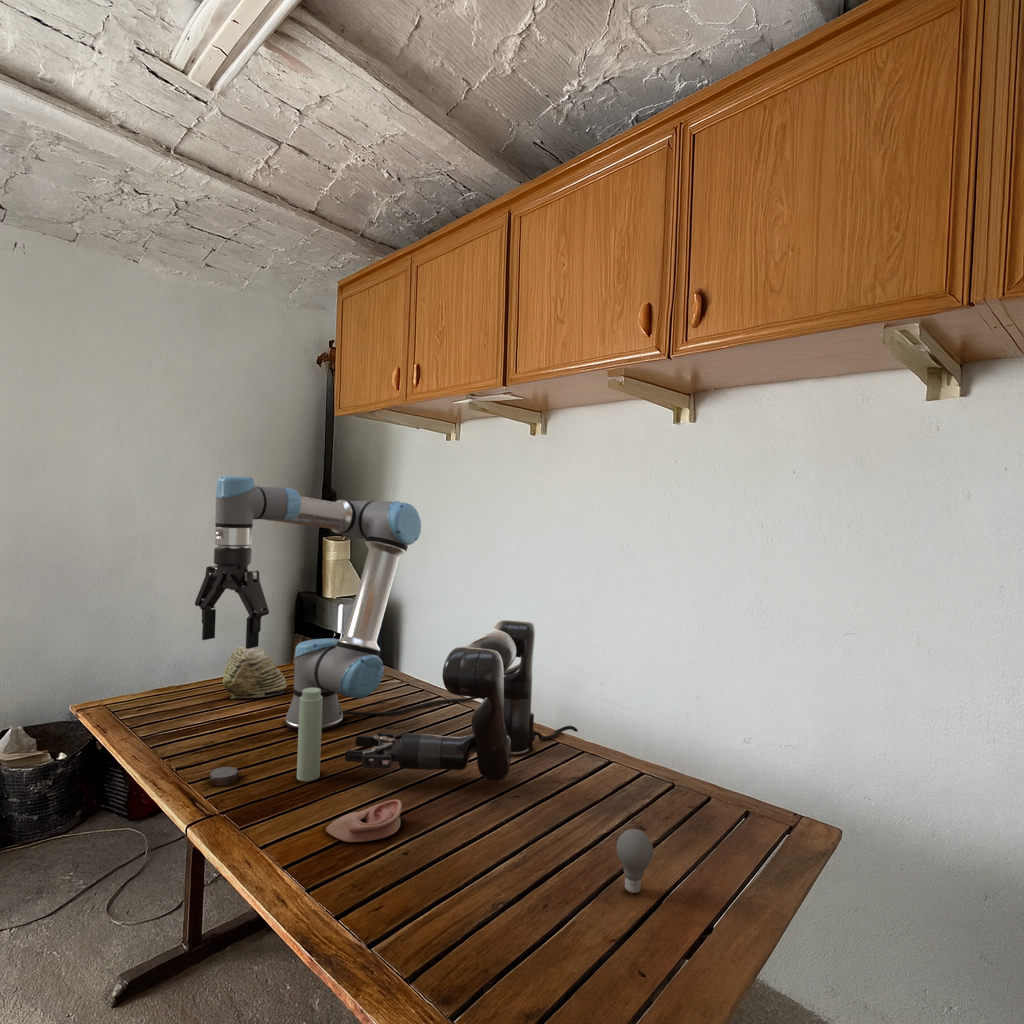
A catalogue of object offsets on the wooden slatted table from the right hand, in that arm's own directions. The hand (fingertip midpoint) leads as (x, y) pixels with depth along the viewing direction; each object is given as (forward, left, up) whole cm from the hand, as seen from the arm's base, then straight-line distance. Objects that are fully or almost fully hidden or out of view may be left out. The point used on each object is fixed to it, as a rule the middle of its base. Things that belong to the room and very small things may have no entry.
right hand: (351, 748), depth 143 cm
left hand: (+26, -8, +24) cm, 36 cm away
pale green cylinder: (+9, -4, -7) cm, 12 cm away
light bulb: (-36, +58, -7) cm, 69 cm away
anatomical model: (+1, +23, -7) cm, 24 cm away
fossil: (+17, -68, -7) cm, 71 cm away
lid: (+26, -8, -5) cm, 28 cm away
